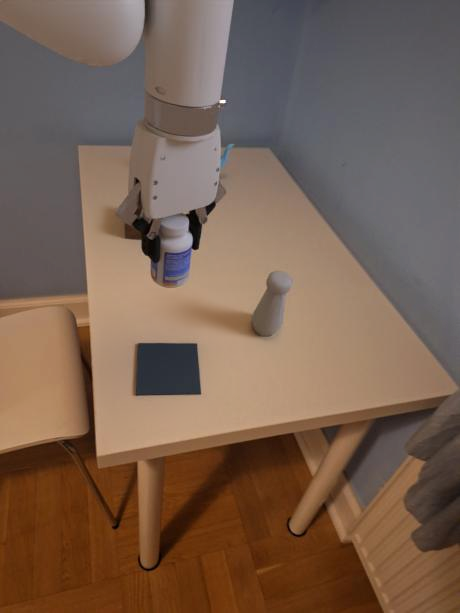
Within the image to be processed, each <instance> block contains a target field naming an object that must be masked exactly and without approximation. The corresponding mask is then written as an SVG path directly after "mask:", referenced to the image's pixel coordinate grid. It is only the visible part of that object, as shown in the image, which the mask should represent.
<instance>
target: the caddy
mask: <svg viewBox="0 0 460 613" xmlns="http://www.w3.org/2000/svg"><path fill="white" fill-rule="evenodd" d="M142 208H143V207H142V203H141V204H140V206H139V207H138V208H137V210H136V211H135V213H134V214H136V215H138V216H139V217H140V214H141V211H142ZM149 224H150V222H149ZM124 239H125V240H141V232H139V231H138V230H136V229H135V228H134V227H132V226H130V225H128V224H126V223H124Z"/></svg>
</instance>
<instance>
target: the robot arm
mask: <svg viewBox="0 0 460 613" xmlns="http://www.w3.org/2000/svg"><path fill="white" fill-rule="evenodd" d="M234 2H235V0H0V22H1V23H3V24H5V25H7V26H9V27H10V28H12V29H13V30H16V31H17V32H19V33H21V34H23V35H24V36H25V37H27V38H29V39H31V40H33V41H35V42H37V43H38V44H40V45H41V46H44V47H45V48H47V49H49V50H51V51H52V52H55V53H56V54H58V55H60V56H62V57H64V58H66V59H67V60H71V61H74V62H76V63H78V64H82V65H86V66H90V67H99V68H103V67H111V66H114V65H118V64H120V63H121V62H123V61H124V60H126V59H127V58H129V56H131V55H132V53H133V52H134V51H135V50H136V48H137V46H138V45H139V43H140V41H141V40H142V41H143V43H144V47H145V48H144V51H145V52H144V63H145V64H144V117H143V119H139V120H137V121H136V123H135V124H136V125H135V129H134V133H133V135H132V136H133V137H132V142H131V149H130V156H129V167H128V182H127V183H128V185H127V186H128V187H127V189H128V192H127V193H128V194H127V195H126V196H125V198H124V200H123V201H122V202H121V204H119V206H118V207H117V209H116V210H115V215H116V217H117V218H118V219H119V220H120V221H121V222H122V223H124V224H125V223H126V224H128V225H130V226H132V227H134V228H135V229H136V230H138V231H139V232H141V239H140V240H141V243H140V244H141V245H140V246H141V247H140V248H141V251H142V253H143V254H144V256H146V257H148V258H149V259H150V261H151V260H152V261H153V263H158V262H159V261H160V245H161V239H160V237H159V236H158V235H157V233H158V230H159V228H160V225H161V222H162V219H163V217H167V216H171V215H175V214H179V213H183V214H185V215H186V216H187V217H188V219H189V228H188V230H189V231H190V232H191V234H192V237H193V242H192V250H193V251H197V250H199V249H200V244H201V237H202V230H203V225H205V224H206V223H208V216H209V215H210V214H211V213H212V211H213V210H214V209H215V208H216V206H217V204H218V203H219V202H220V201H221V200H223V198H224V197H225V196H226V194H227V190H226V188H225V187H224V185H223V184H222V183H221V181H220V174H221V171H220V160H221V156H222V144H221V128H220V125H219V124H218V119H219V112H220V110H221V111H222V110H224V109H225V108H226V107H227V102H226V98H225V97H224V96H223V95H222V90H223V81H224V74H225V68H226V61H227V52H228V46H229V45H228V44H229V38H230V30H231V23H232V18H233V17H232V16H233V9H234ZM141 203H142V207H143V208H142V211H141V214H140V216H138V215H136V214H134V213H135V211H136V210H137V208H138V207H139V206H140V204H141ZM186 212H188V213H186ZM149 223H150V224H149Z"/></svg>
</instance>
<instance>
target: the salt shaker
mask: <svg viewBox="0 0 460 613" xmlns="http://www.w3.org/2000/svg"><path fill="white" fill-rule="evenodd" d="M265 281H266V282H265V284H266V285H265V286H266V289H265V291H264V293H263V294H262V297H261V298H260V300H259V302H258V303H257V305H256V307H255V309H254V310H253V312H252V315H251V323H252V327H253V330H254V331H255V332H256V333H257V334H258V335H259V336H261V337H272V336H274V334H276V333H277V332H279V330H281V328H282V326H283V325H284V318H285V308H286V300H287V299H286V298H287V293H289V292H290V291H291V289H292V287H293V283H294V282H293V278H292V277H291V276H290V274H288V273H287V272H285V271H282V270H274V271H272V272H270V273H269V274H268V276H267V277H266V280H265Z"/></svg>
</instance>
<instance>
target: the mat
mask: <svg viewBox="0 0 460 613" xmlns="http://www.w3.org/2000/svg"><path fill="white" fill-rule="evenodd" d="M137 344H138V345H137V358H136V359H137V361H136V362H137V363H136V380H135V381H136V383H135V396H136V397H137V396H183V395H185V396H186V395H188V396H189V395H202V389H201V388H202V387H201V376H200V375H201V374H200V362H199V353H198V352H199V351H198V342H197V343H195V342H192V343H191V342H138V343H137Z"/></svg>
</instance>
